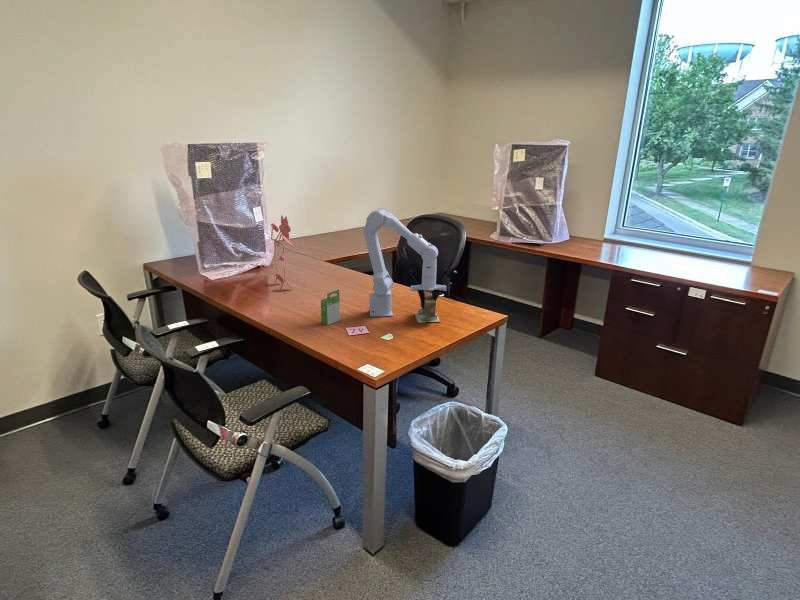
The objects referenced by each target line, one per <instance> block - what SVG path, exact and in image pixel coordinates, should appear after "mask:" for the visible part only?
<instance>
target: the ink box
mask: <svg viewBox="0 0 800 600" xmlns="http://www.w3.org/2000/svg"><path fill="white" fill-rule="evenodd" d="M333 294H336V295H333ZM332 295H333V296H332ZM340 298H341V297H340V289H337V290H333V291H330V292H328V293H327V294H326V298H323V299H320V315H321V316H320V318H321V319H320V322H321V324H323V325H326V326H327V325H328V326H329V325H332V324H334V323H337V322H339V321H340V322H341V311H340V309H341V307H340V306H341V305H340V304H341V303H340Z"/></svg>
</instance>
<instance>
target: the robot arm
mask: <svg viewBox="0 0 800 600" xmlns="http://www.w3.org/2000/svg"><path fill="white" fill-rule="evenodd" d="M365 220H366V221H365V224H364V225H365V226H364V229H363V235H364V239H365V243H366V248H367V251H368V255H369V259H370V260H369V261H370V263H371V268H372V272H373V276H372V277H373V278H372V282H373V287H372V290H373V293H369V296H368V297H369V301H368V303H369V305H368V311H369V315H370V317H371V318H372V317H393V316H394V313H393V311H392V295H393V294H392V293H393V292H392V290H391V288H392V287H393V286H394V281H393V279H392V277H391V276H390V274H389V272H388V270H387V269H386V265H385V261H384V257H383V252H382V249H381V245H380V240H379V236H378V233H379V231H380V230H381V228H382V226H383V228H391V229H393V230H394V231H395V232H397V233H398V234H399V235H401V237H403V238H404V239H406V241H407V246H409V247H411V249H413V250H414V251H415V252H416V253H417V254H419V255H420V256H421V260H422V269H421V271H422V272H421V273H422V274H421V284H417V285H410V292H417V293H418V295H419V299H420V300H419V301H420V303H421V306H422V308H424V298H425V293H424V292H430V291H431V295H432V297H433V298H434V300H435V302H436V303H437V300H438V298H439V296H440V294H441V292H440V291H444V292H447V285H445V284H443V285H442V284H437V270H438V269H437V267H438V266H437V263H438V262H437V261H438V260H437V257H438V256H439V250H438V248H437V247H436V245H433V244H432V243H431V242H428V240H425V238H424V237H423V235H422V234H420V233H417V232H416V233H413V232H411V231H410V230H409V228H407V227H406V225H404V224H403V223H402V222H401V221H400V220H399V219H398V218H397V217H396V216H395V215H394V214H393V213H391V212H390V211H389V210H387V209H386V208H384V207H380V208H377V209H375V210H373V211H372V212H370V213H369V215H367V217H366V219H365ZM421 306H420V307H421ZM422 308H421V309H422Z"/></svg>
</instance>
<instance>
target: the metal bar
mask: <svg viewBox="0 0 800 600" xmlns="http://www.w3.org/2000/svg"><path fill="white" fill-rule="evenodd" d="M424 293H425V298H424V308H422V306H421V302H420V304H419V305H420V308H421V309H422V310H423V312H424V314H425V316H426V317H434V316H435V313H436V312H437V311H436V309H437V307H436V306H437V301H436V302H435V300H434V298H433V297H432V292H430V291H424Z"/></svg>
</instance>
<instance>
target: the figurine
mask: <svg viewBox="0 0 800 600" xmlns="http://www.w3.org/2000/svg"><path fill="white" fill-rule="evenodd" d="M270 226H271V235H270V241H273V242H274V243H275V244H276V247H279V245H281V246H283V247H282V254H281V255H280V256H279V258H278V259H277V260H275V261H274V265H275V269H276V272H277V273H276V274H275V277H276V278H275V280H274V283H273V286H274V287H275V284H276V282H277V280H278V281H279V282H280V283H281V286H280V288H279V291H280V292H281V291H282V288H283V286H284V284H285V282H286V284H287V285H288V286H289V287H290V288H291V289H293V287H292V286H291V285H290V284H289V283H288V282H287V281H286V271H285V269H286V268H285V266H283V276H284V278H283V277H282V275H280V274H279V270H278V267H277V263H276V262H278V261H281V262H285V260H286V257H285V255H284V254H285V253H284V252H285V244H283V243H281V239H282V242H286V243H287V244H288V245H290V246H291V247H294V245H293V244H292V242H291V241H290V232H291V230H292V229H291V226H290V224H289V220H288V216H285V217H284V215H281V216H280V225H278V226H277V225H276V224H275V223H274V222H273V223H271V224H270ZM273 231H275V232H276V233H278V234H277V236H276V238H275V239H273ZM277 240H278V241H277ZM292 281H295V282H298V283H302V284H303V285H305V282H303V281H298V280H293V279H292ZM286 294H287V293H284V295H286Z"/></svg>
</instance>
